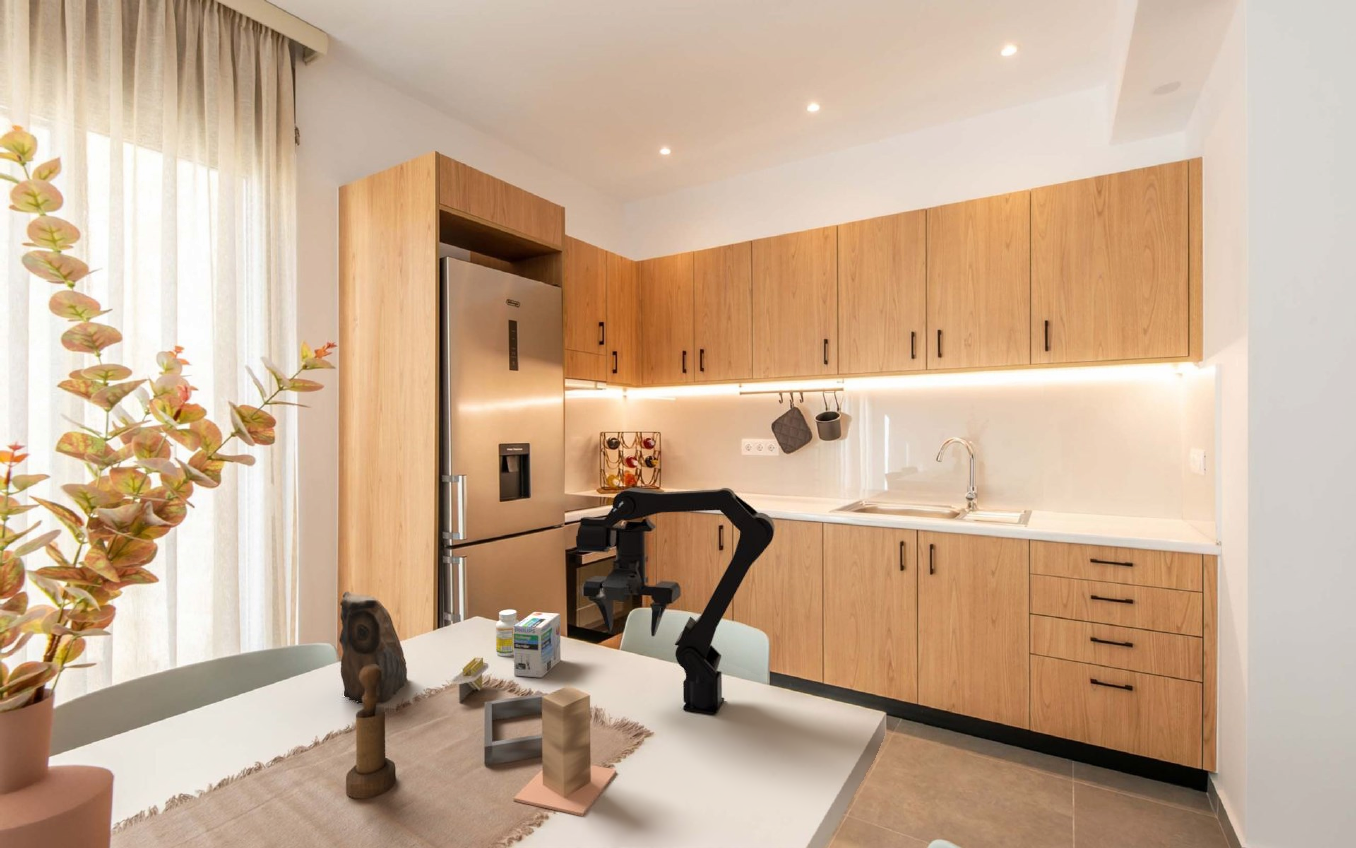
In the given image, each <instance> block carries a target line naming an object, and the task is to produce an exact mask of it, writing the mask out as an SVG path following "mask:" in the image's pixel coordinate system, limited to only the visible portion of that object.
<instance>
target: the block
mask: <svg viewBox="0 0 1356 848" xmlns="http://www.w3.org/2000/svg"><path fill="white" fill-rule="evenodd" d="M541 715H542V716H541V731H542V732H541V734H542V756H541V757H542V769H543V785H544V786H546V787H547V788H549V789H551V790H552V791H554V792H555V793H557V794H558V795H560V796H562V797H563V798H565V797H566V796H568V795H570V794H571V793H573V792H575V791H577V790H578V789H580V788H582V787H583V786H585V785H587V784H589V783H590V782H591V765H592V764H591V761H592V760H591V759H592V758H591V695H590V694H589V693H587V692H584V691H581V690H580V689H577V688H575V687H573V686H571V685H567V686H564V687H562V688H560V689H558V690H554V691H552V692H550V693H547V695H545V696H542V713H541Z"/></svg>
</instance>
